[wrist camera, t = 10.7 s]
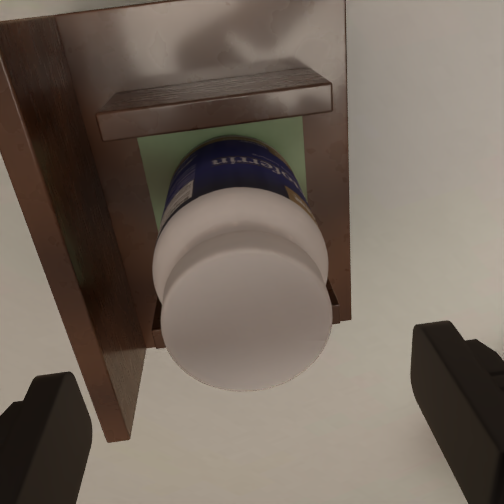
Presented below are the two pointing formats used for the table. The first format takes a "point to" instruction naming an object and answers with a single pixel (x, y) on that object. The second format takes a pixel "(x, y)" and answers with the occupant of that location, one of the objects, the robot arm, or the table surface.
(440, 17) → the table surface
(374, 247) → the table surface
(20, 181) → the shelf
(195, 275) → the pill bottle
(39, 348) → the table surface
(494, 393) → the robot arm
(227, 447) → the table surface
